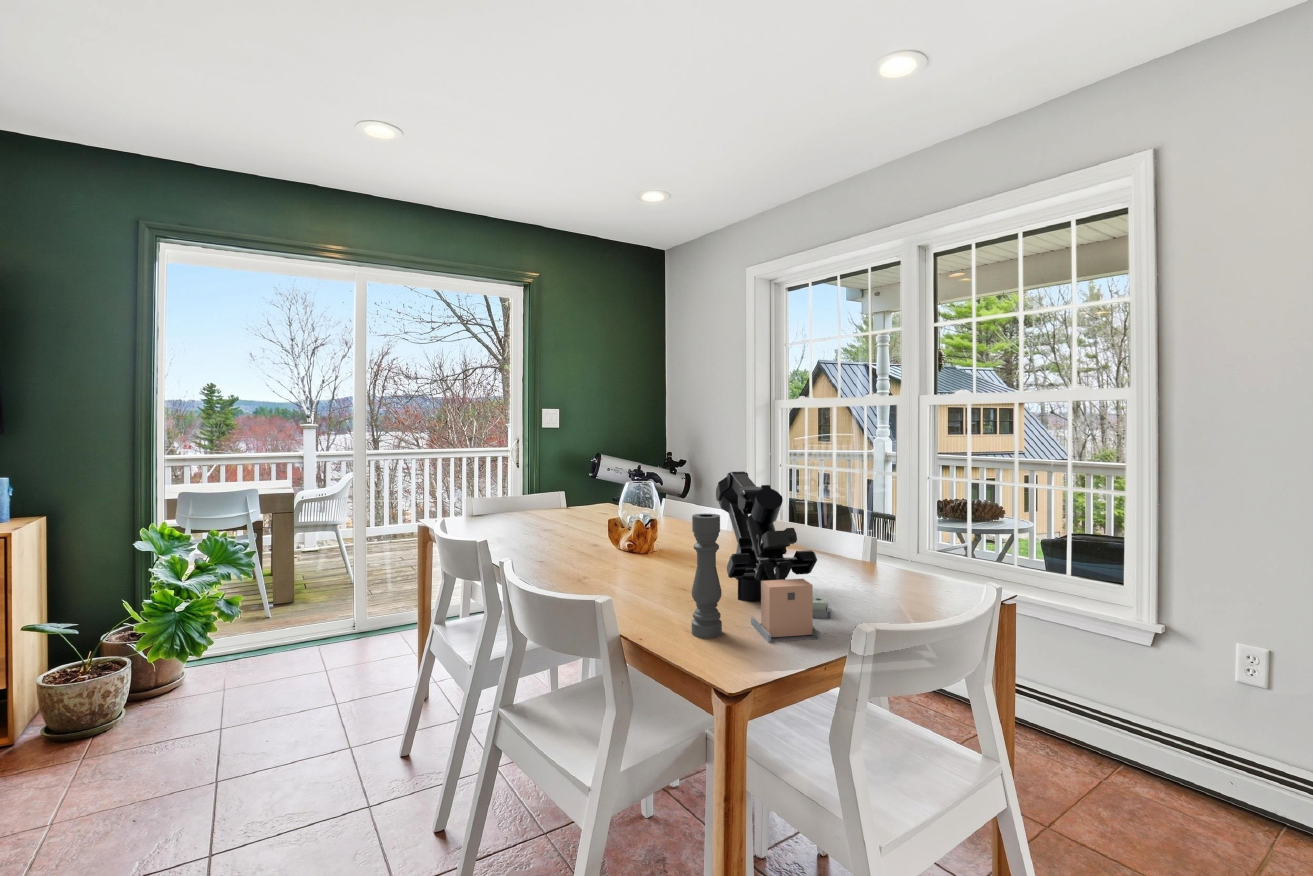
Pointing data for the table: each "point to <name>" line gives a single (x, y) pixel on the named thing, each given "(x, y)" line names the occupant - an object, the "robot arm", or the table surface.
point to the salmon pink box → (787, 607)
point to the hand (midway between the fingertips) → (781, 599)
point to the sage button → (819, 603)
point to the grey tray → (786, 638)
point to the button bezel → (823, 613)
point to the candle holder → (706, 577)
